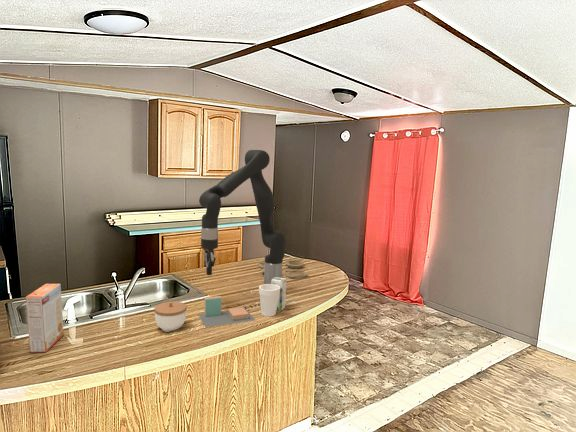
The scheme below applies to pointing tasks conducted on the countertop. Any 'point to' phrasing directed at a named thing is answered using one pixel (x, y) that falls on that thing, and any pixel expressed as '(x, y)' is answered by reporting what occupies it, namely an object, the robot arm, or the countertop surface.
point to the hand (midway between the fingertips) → (209, 274)
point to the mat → (221, 319)
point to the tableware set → (292, 264)
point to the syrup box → (282, 295)
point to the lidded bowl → (170, 315)
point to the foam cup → (269, 299)
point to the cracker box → (44, 317)
